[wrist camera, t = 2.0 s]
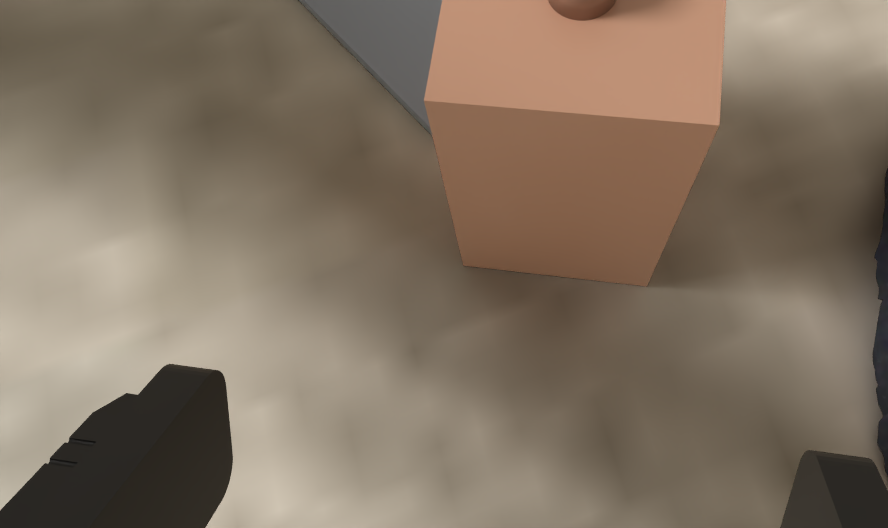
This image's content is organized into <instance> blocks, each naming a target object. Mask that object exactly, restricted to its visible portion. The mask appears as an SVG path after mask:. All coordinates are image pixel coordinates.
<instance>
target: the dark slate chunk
mask: <svg viewBox="0 0 888 528" xmlns="http://www.w3.org/2000/svg"><path fill="white" fill-rule="evenodd" d="M875 259H876V260H877V262H878V263H877V270H876V279H877V283H878V287H879V295H878V299H881V300H882V303H881V306H880V311H879V317H878V323H877V330H876V337H875V343H874V349H873V364H874V368H875V376H876V381H877V383H878V387H877V388H876V392H877V398H878V404H879V407H880V409H881V411H882V414H883V418H882V419H881V420H880V422H879V427H878V441H877V443H878V446H879V448H880V450H881V452H882V454H883V456H884V460H885V470H886V473H887V475H888V168H887V171H886V177H885V208H884V215H883V228H882V234H881V239H880V243H879V245H878V248H877V250H876V253H875Z"/></svg>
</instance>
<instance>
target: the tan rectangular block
mask: <svg viewBox="0 0 888 528" xmlns="http://www.w3.org/2000/svg"><path fill="white" fill-rule="evenodd" d="M725 10H726V0H442V4H441V9H440V15H439V20H438V26H437V31H436V37H435V42H434V48H433V53H432V59H431V64H430V70H429V75H428V81H427V86H426V92H425V97H424V103H425V107H426V111H427V116H428V120H429V124H430V128H431V132H432V137H433V141H434V145H435V149H436V153H437V157H438V162H439V166H440V170H441V174H442V178H443V182H444V187H445V191H446V195H447V199H448V203H449V208H450V212H451V216H452V220H453V224H454V228H455V233H456V237H457V241H458V245H459V249H460V253H461V258H462V262H463V266H471V267H480V268H489V269H498V270H507V271H515V272H524V273H533V274H542V275H551V276H559V277H568V278H577V279H586V280H595V281H604V282H612V283H621V284H630V285H639V286H647V285H648V283H649V281H650V278H651V276H652V274H653V272H654V270H655V267H656V265H657V263H658V261H659V258H660V256H661V254H662V252H663V250H664V247H665V245H666V243H667V241H668V238H669V236H670V234H671V232H672V230H673V227H674V225H675V223H676V221H677V219H678V216H679V214H680V212H681V210H682V207H683V205H684V203H685V201H686V199H687V196H688V194H689V192H690V190H691V188H692V185H693V183H694V181H695V179H696V176H697V174H698V172H699V170H700V168H701V165H702V163H703V161H704V159H705V156H706V154H707V152H708V150H709V148H710V145H711V143H712V141H713V139H714V137H715V134H716V132H717V130H718V128H719V125H720V106H721V87H722V68H723V48H724V29H725Z"/></svg>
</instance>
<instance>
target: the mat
mask: <svg viewBox="0 0 888 528" xmlns="http://www.w3.org/2000/svg"><path fill="white" fill-rule="evenodd" d="M299 1H300V2H301V3H302V4H303V5H304V6H305V7H306V8H307V9H308V10H309V11H310V12H311V13H312V14H313V15H314V16H315V17H316V18H317V19H318V20H319V21H320V22H321V23H322V24H323V25H324V26H325V27H326V28H327V30H328V31H329V32H330V33H331V34H332V35H333V36H334V37H335V38H336V39H337V40H338V41H339V42H340V43H341V44H342V45H343V46H344V47H345V48H346V49H347V50H348V51H349V52H350V53H351V54H352V55H353V56H354V57H355V58H356V59H357V60H358V61H359V62H360V63H361V64H362V65H363V66H364V67H365V68H366V69H367V70H368V71H369V72H370V73H371V74H372V75H373V76H374V77H375V78H376V79H377V80H378V81H379V82H380V83H381V84H382V85H383V86H384V87H385V88H386V89H387V90H388V91H389V92H390V93H391V94H392V95H393V96H394V97H395V98H396V99H397V100H398V102H399V103H400V104H401V105H402V106H403V107H404V108H405V109H406V110H407V111H408V112H409V113H410V114H411V115H412V116H413V117H414V118H415V119H416V120H417V121H418V122H419V123H420V124H421V125H422V126H423V127H424V128H425V129H426V130H427V131H428V132H429V133H430V134H431V135H432V132H431V128H430V124H429V120H428V116H427V111H426V107H425V103H424V97H425V92H426V86H427V81H428V75H429V70H430V64H431V59H432V53H433V48H434V42H435V37H436V31H437V26H438V20H439V15H440V9H441V4H442V0H299Z"/></svg>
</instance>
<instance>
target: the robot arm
mask: <svg viewBox="0 0 888 528" xmlns="http://www.w3.org/2000/svg"><path fill="white" fill-rule="evenodd" d="M232 463H233V454H232V443H231V433H230V422H229V412H228V402H227V391H226V383H225V379H224V376H223V374H222V373H221V372H220V371H218V370H211V369H203V368H196V367H189V366H182V365H174V364H168V365H166V366H164V367H163V368H162V369H161V370H160V371H159V372H158V373H157V374H156V375H155V377H154V378H153V379H152V380H151V381H150V382H149V383H148V384H147V386H146V387H145V388H144V389H143V390H142V391H141V392H140V393H139V394H138V395H135V394H128V393H126V394H124V395H123V396H121V397H119V398H118V399H116V400H114V401H112V402H111V403H109V404H107V405H105V406H104V407H102V408H100V409H98V410H97V411H95V412H93V413H92V414H91V415H90V416H89V417H88V418H87V419H86V421H85V422H84V423H83V424H82V425H81V426H80V427H79V428H78V429H77V430H76V431H75V432H74V433H73V434H72V435H71V436H70V437H69V442H68V443H64V444H63V445H62V446H61V447H60V448H59V449H58V450H57V451H56V452H55V453H54V454H53V455H52V456H51V458H50V462H49V464H46V463H45V464H44V465H43V466H42V467H41V468H40V469H39V470H38V471H37V472H36V473H35V474H34V476H33V477H32V478H31V479H30V480H29V481H28V482H27V483H26V484H25V485H24V486H23V487H22V488H21V489H20V490H19V491H18V492H17V493H16V495H15V496H14V497H13V498H12V499H11V500H10V501H9V502H8V503H7V504H6V505H5V506H4V507H3V508H2V509H1V510H0V528H205V527H206V526H207V524H208V522H209V521H210V519H211V517H212V516H213V514H214V512H215V511H216V509H217V507H218V506H219V504H220V503H221V501H222V499H223V497H224V495H225V493H226V490H227V487H228V484H229V481H230V476H231V471H232ZM780 528H888V491H887V489H886V487H885V485H884V482H883V480H882V478H881V476H880V474H879V472H878V469H877V467H876V465H875V464H874V462H873V461H872V460H871V459H869V458H863V457H856V456H848V455H841V454H834V453H826V452H819V451H812V450H808V451H806V452H805V453H804V455H803V456H802V458H801V460H800V463H799V467H798V470H797V473H796V477H795V480H794V483H793V487H792V490H791V494H790V497H789V500H788V504H787V507H786V510H785V514H784V517H783V521H782V524H781V527H780Z"/></svg>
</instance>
